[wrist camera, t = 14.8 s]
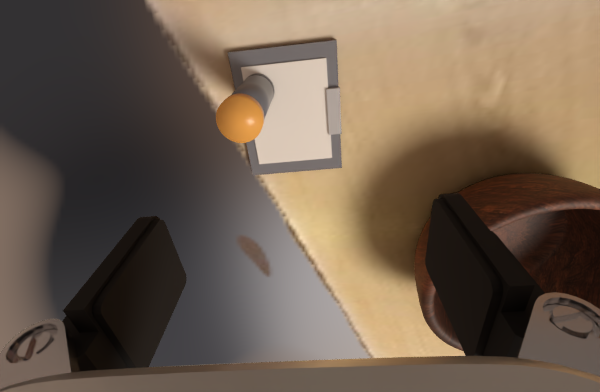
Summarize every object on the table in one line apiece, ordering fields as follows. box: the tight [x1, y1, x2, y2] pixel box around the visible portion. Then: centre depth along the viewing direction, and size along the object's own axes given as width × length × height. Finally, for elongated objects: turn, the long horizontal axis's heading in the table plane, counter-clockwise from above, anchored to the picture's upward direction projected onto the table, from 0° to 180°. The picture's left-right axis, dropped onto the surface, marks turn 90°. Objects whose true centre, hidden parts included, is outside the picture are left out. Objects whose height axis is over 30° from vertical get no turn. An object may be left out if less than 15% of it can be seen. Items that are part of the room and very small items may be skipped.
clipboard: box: [228, 40, 342, 175], centre depth 35 cm, size 11×14×1 cm
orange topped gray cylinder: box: [216, 73, 275, 143], centre depth 29 cm, size 4×4×11 cm
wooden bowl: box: [415, 173, 600, 351], centre depth 39 cm, size 25×25×10 cm
